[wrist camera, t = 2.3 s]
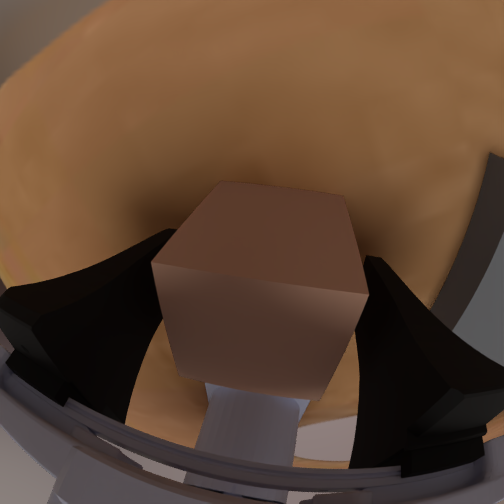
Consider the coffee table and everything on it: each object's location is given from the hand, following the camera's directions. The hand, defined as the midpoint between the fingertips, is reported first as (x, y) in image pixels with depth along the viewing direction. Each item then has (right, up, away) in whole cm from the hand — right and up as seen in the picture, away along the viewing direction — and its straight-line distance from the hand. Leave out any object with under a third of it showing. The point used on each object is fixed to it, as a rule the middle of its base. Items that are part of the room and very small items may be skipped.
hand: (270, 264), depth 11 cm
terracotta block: (0, +1, +2) cm, 2 cm away
